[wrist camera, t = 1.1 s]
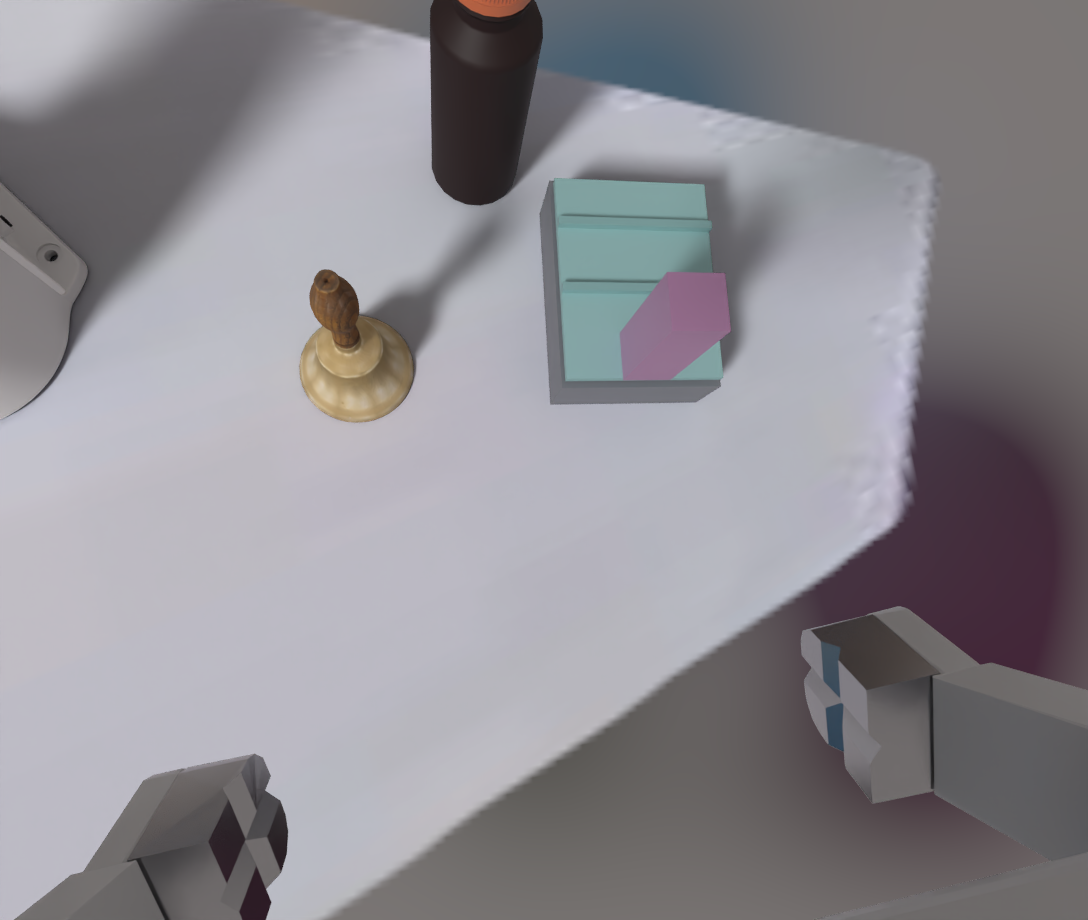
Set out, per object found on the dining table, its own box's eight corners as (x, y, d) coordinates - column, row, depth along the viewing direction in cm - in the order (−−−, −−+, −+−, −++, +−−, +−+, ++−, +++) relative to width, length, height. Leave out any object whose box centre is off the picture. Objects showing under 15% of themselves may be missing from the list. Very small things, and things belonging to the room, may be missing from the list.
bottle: (439, 122, 54) (440, -130, 34) (520, 141, 55) (566, -94, 35) (425, 197, 53) (417, -20, 33) (508, 215, 53) (549, 14, 34)
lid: (553, 182, 49) (584, 79, 38) (701, 188, 51) (768, 92, 40) (565, 383, 46) (602, 330, 36) (720, 381, 48) (796, 331, 38)
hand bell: (408, 313, 51) (395, 201, 35) (418, 417, 50) (410, 349, 34) (296, 320, 49) (231, 206, 34) (304, 427, 48) (241, 361, 33)
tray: (539, 214, 54) (549, 180, 49) (679, 218, 56) (701, 187, 51) (550, 404, 51) (561, 388, 47) (695, 402, 53) (720, 386, 49)
